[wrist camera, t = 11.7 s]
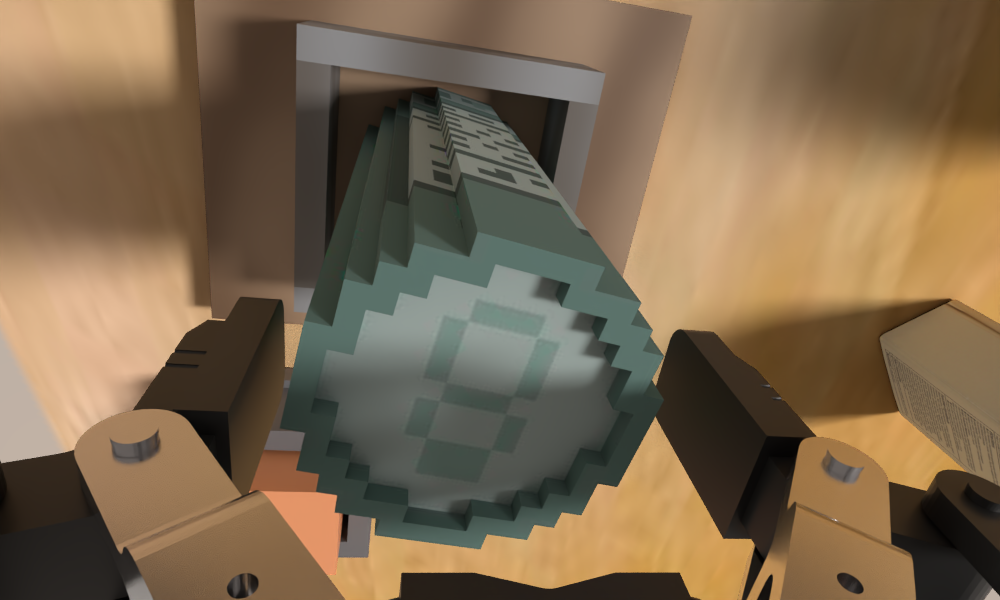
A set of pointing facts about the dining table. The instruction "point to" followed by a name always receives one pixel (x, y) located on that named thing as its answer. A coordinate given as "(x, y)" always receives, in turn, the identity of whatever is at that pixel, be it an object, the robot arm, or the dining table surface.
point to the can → (465, 339)
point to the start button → (301, 505)
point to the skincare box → (950, 383)
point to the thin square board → (394, 75)
